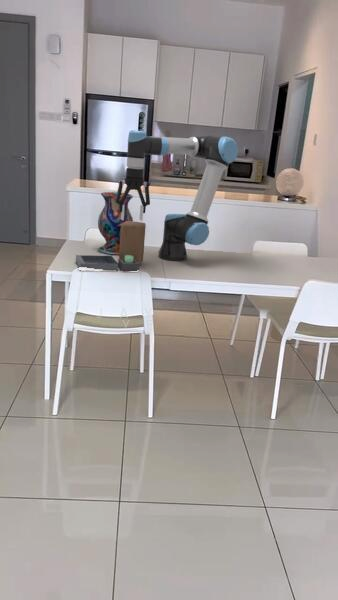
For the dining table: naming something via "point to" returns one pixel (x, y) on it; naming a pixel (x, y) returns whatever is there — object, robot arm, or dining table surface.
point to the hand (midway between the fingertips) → (131, 219)
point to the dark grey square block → (128, 265)
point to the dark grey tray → (97, 262)
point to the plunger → (128, 259)
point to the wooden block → (132, 240)
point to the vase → (112, 222)
